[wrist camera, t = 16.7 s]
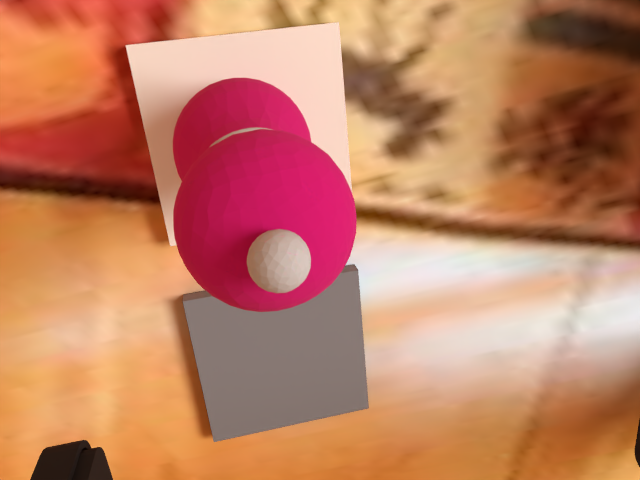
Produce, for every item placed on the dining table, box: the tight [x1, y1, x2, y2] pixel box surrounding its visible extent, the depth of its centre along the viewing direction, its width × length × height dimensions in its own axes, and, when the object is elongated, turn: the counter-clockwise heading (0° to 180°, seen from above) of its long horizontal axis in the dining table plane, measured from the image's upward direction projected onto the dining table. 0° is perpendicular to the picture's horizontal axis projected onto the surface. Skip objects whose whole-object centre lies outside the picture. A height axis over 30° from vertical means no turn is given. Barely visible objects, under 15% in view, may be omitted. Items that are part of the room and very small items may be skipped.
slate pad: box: [183, 264, 369, 442], centre depth 39 cm, size 12×12×1 cm
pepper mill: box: [173, 78, 356, 312], centre depth 23 cm, size 7×7×20 cm
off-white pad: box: [126, 22, 352, 246], centre depth 33 cm, size 12×12×1 cm
